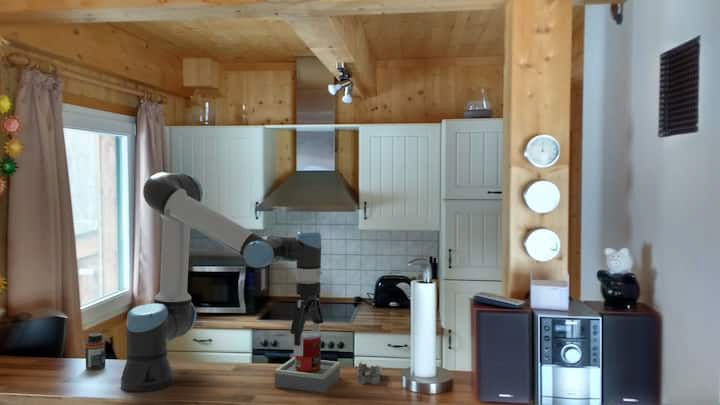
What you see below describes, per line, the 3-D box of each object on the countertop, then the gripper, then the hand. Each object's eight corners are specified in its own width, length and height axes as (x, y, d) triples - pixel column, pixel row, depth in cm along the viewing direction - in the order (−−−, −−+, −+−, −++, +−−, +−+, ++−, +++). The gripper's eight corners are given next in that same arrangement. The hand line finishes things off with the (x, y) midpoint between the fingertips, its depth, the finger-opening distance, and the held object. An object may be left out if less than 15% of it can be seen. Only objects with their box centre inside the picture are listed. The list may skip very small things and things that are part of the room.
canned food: (316, 374, 172) (317, 338, 171) (291, 372, 173) (291, 336, 173) (323, 366, 179) (323, 331, 179) (299, 364, 181) (299, 330, 180)
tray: (274, 386, 172) (274, 370, 172) (293, 372, 185) (293, 357, 185) (323, 392, 167) (324, 375, 167) (339, 377, 181) (339, 362, 180)
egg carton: (359, 373, 186) (359, 361, 186) (382, 374, 185) (382, 361, 185) (355, 384, 175) (355, 371, 175) (379, 385, 174) (379, 372, 174)
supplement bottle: (87, 366, 191) (87, 332, 190) (107, 364, 192) (106, 331, 192) (83, 371, 185) (83, 337, 185) (103, 370, 186) (103, 336, 186)
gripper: (303, 289, 162) (302, 362, 163) (333, 276, 186) (332, 340, 187) (279, 287, 165) (278, 359, 165) (312, 274, 189) (311, 338, 189)
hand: (307, 349), depth 176 cm, fingers open, 13 cm apart
